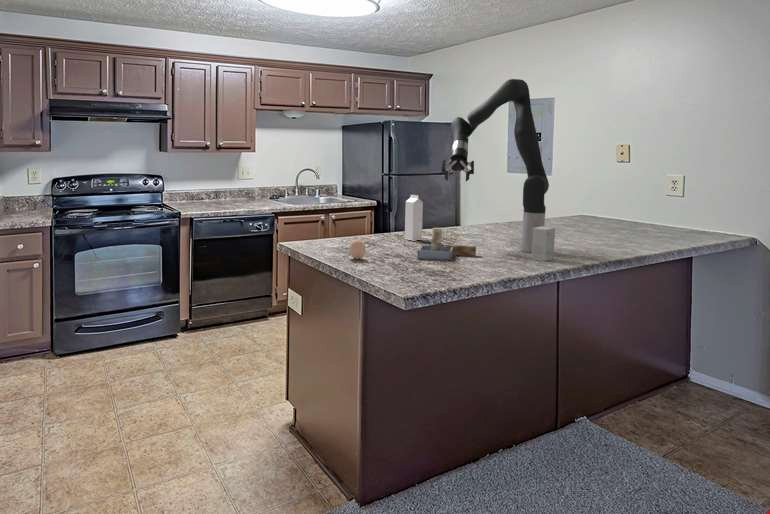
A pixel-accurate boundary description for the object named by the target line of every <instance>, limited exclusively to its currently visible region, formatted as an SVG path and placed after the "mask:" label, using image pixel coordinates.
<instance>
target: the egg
mask: <svg viewBox="0 0 770 514" xmlns="http://www.w3.org/2000/svg"><path fill="white" fill-rule="evenodd" d="M366 248H367V247H366V245H365V243H364V242H363V241H362V240H361V239H354V240H353V241H352V242H351V243H350V245H349V249H348V251H349V255H350V256H351V257H352V258H353V259H354V258H356V259H355V260H360V259H359V258H361V259H362V258H364V256H365V255H366V253H367V249H366Z"/></svg>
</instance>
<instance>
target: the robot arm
mask: <svg viewBox="0 0 770 514" xmlns="http://www.w3.org/2000/svg"><path fill="white" fill-rule="evenodd" d="M509 102H512V103H513V105H514V109H515V123H514V132H513V133H514V134H513V135H514V139H515V142H516V149H517V151H518V153H519V155H520V157H521V160H522V161H523V163H524V165H525V169H526V173H527V178H526V179H525V180H524V183H523V189H522V207H523V216H522V217H523V218H522V229H521V230H522V232H521V246H520V247H521V249H520V251H521V252H525V253H530V254H531V253H532V236H533V228H536V227H541V226H544V227H545V225H546V224H545V223H546V222H545V221H546V208H547V207H546V205H545V195H546V193H547V192H548V190H549V187H550V184H549V180H548V177H547V173H546V170H545V167H544V164H543V161H542V160H543V159H542V154H541V153H542V152H541V147H540V143H539V137H538V134H537V129H536V124H535V120H534V116H533V111H532V105H531V95H530V89H529V85H528V83H527V82H526V81H525V80H523V79H518V78H510V79H507V80H506V81H505V82H503V83H502V85H501V86H499V87H498V88H497V90H496V91H495V92H494V93H493V94H491V95H490V96H489V97H488V98H487V99H486V100H484V102H482V103H481V104H480V105H479V106H477V107H476V108H473V110H472V111H470V112H469V113H468V114H467V117H466V118H467V120H465V119H464V118H463V117H460V116H459V117H455V118H454V119H452V122H451V124H450V131H451V137H452V146H451V151H450V152H451V153H450V160H449V161H446V160H445V159H444V160H443V161H442V165H441V174H444V179H445V180H446V181H447V182H448V180H449V176H450V175H449V174H451V173H452V172H453V171H454V172H458V171H459V172H463V173H464V174H465V182H468V181H469V180H470V175H474V174H475V161H474V160H471V161H468V157H469V156H468V155H469V137H470V136H471V135H472V134H473V133H474V131H475V130H476V129H477V128H478V127H479V126H480V125H481V124H483V123H484V122H486V121H487V120H488V119H489V118H490V117H492V116H493V115H494V113H495V111H496V110H498V108H500V107H502V105H505V104H507V103H509ZM447 166H448V167H447ZM446 167H447V168H446ZM468 167H470V169H469V168H468Z"/></svg>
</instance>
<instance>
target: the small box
mask: <svg viewBox="0 0 770 514" xmlns="http://www.w3.org/2000/svg"><path fill="white" fill-rule="evenodd" d="M555 236H556V227H552V226H545V225H544V226H541V227H536V228H533V236H532V253H531V252H530V255H531V256H530V257H531V258H530V259H531V260H532V259H533V260H534V261H539V262H547V261H550V260H553V259H554V252H555V238H556V237H555Z"/></svg>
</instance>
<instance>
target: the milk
mask: <svg viewBox="0 0 770 514" xmlns="http://www.w3.org/2000/svg"><path fill="white" fill-rule="evenodd" d="M423 207H424V201H422V200H421V199H420V198H419V195H418V194H417V195H416V194H410V197H409V198H408V199H407V200H405V209H404V211H405V212H404V216H405V217H404V220H405V221H404V222H405V223H404V240H405V239H408V240H412V241H414V240H423V215H424V213H423V211H424V210H423V209H424V208H423Z"/></svg>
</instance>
